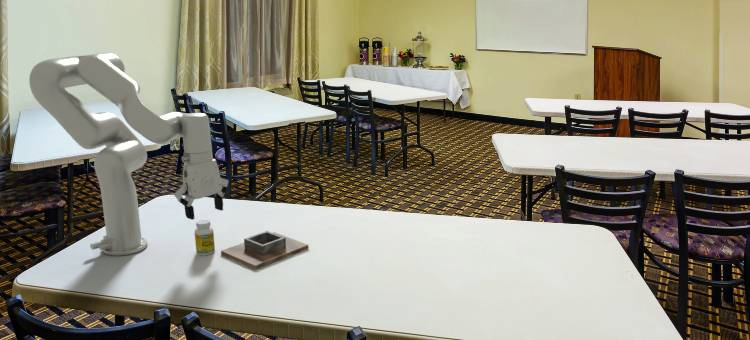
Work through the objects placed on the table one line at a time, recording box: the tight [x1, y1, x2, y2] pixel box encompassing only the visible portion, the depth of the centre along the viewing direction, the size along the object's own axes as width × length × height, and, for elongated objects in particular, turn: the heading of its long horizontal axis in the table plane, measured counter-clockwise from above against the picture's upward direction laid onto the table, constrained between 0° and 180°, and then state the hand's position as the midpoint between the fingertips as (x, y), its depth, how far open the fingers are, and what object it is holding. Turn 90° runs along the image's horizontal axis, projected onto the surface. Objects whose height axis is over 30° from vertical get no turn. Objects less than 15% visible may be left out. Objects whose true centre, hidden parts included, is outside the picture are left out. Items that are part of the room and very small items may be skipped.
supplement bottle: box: [194, 219, 216, 256], centre depth 175 cm, size 5×5×10 cm
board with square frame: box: [220, 230, 310, 270], centre depth 176 cm, size 20×16×4 cm
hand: (205, 213), depth 173 cm, fingers open, 9 cm apart
